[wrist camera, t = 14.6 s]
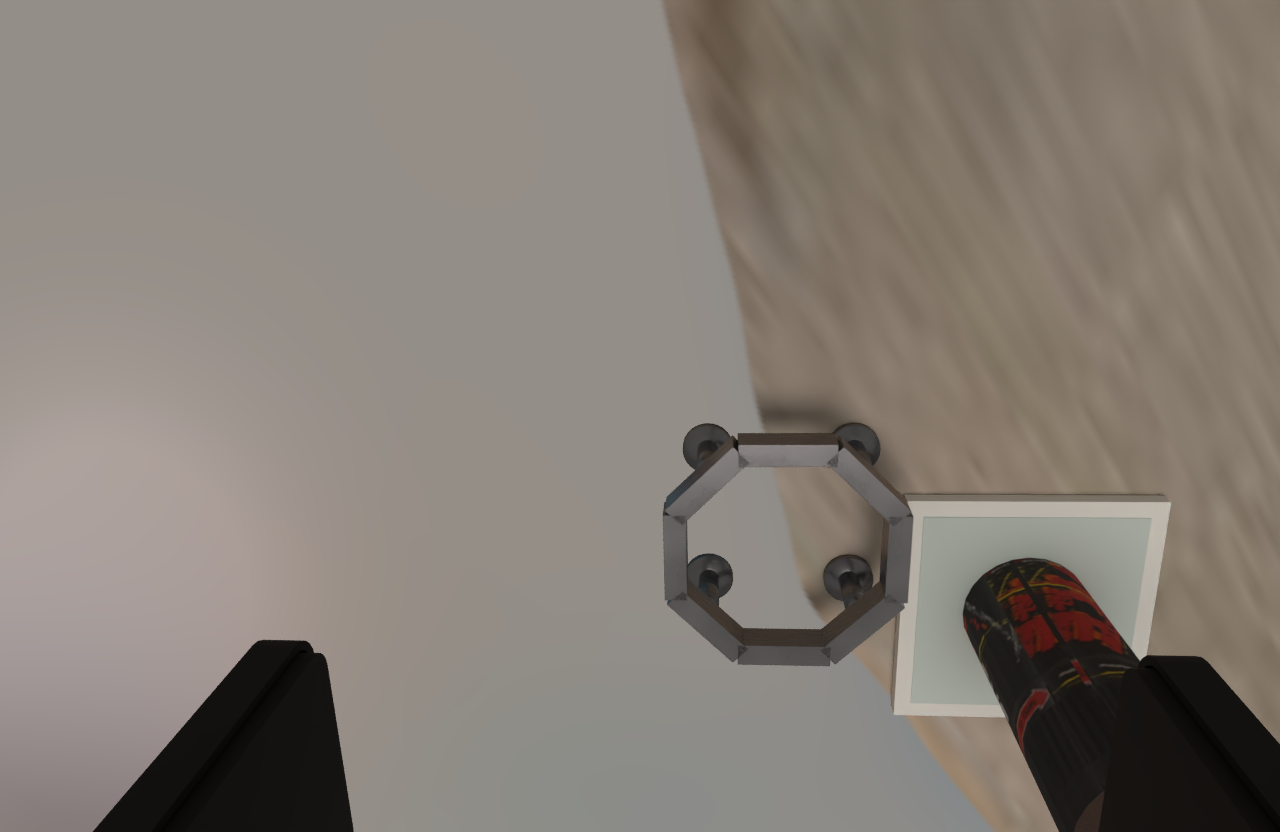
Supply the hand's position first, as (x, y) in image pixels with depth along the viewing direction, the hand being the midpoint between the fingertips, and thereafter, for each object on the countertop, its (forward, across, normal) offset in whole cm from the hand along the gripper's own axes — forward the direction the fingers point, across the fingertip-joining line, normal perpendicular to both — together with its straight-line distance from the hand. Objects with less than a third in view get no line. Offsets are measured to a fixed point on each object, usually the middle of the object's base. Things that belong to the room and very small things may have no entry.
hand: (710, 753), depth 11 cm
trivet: (+33, -15, +17) cm, 40 cm away
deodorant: (+33, -15, +17) cm, 40 cm away
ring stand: (+33, -3, +12) cm, 36 cm away
